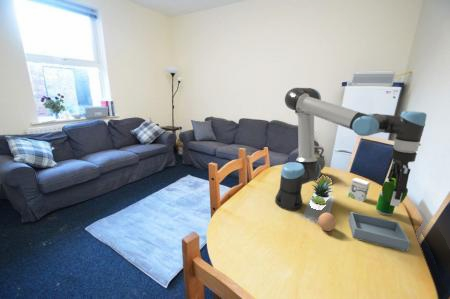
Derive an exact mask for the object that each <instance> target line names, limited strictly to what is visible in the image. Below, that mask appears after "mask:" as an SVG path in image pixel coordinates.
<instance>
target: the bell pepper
mask: <svg viewBox="0 0 450 299" xmlns="http://www.w3.org/2000/svg"><path fill="white" fill-rule="evenodd" d="M391 179H392V180H394V182H393V181H391V182H389V181H384V182H383V184H382V186H381V191H382V195H383V198H384V200H385V201H387V202H389V203H391V200H392V196H393V192H394V191H393V190H395V187H396V179H395V178H391ZM408 192H409V190H408V187H406V192H405V193H402V197H401V201H400V204H402V203H403V202H404V200H405V198H406V197H407V196H408Z"/></svg>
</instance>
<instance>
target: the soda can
mask: <svg viewBox="0 0 450 299" xmlns="http://www.w3.org/2000/svg"><path fill="white" fill-rule="evenodd" d="M395 208H396V206H392V205H390V203H389V202H387V201H385V200H384V198H383V195H382V190H381V191H380V192H379V196H378V199H377V203H376V207H375V210H376V211H377V213H378V214H380V215H383V216H386V217H390V216H392V215H393V214H394V211H395Z"/></svg>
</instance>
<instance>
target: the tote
mask: <svg viewBox="0 0 450 299" xmlns="http://www.w3.org/2000/svg"><path fill="white" fill-rule="evenodd" d="M349 212H350V213H349V217H348V223H349V228H350V231H351V236H352V238H353V239H355V240H361V241H363V242H368V243H370V244H371V243H372V244H374V245H375V244H376V245H379V246H384V247H387V248H391V249H395V250H400V251H404V252H408V251H409V247H410V244H411V241H410V239H409V238H408V235H407V233H405V230H404V229H403V228H402V226H401V224H400V223H399V221H394V220H390V219H386V218H381V217H376V216H373V215H367V214H363V213H358V212H353V211H349Z"/></svg>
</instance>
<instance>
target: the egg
mask: <svg viewBox="0 0 450 299" xmlns="http://www.w3.org/2000/svg"><path fill="white" fill-rule="evenodd" d="M317 221H318V222H317V223H318V225H319V227H320V228H321V229H322V230H324V231H326V232H327V231H329V232H330V231H332V230H334V229H335V228H336V225H337V222H336V219H335V217H334V215H333V214H332V213H330V212H323V213H322V214H320V215H319V217H318V220H317Z"/></svg>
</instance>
